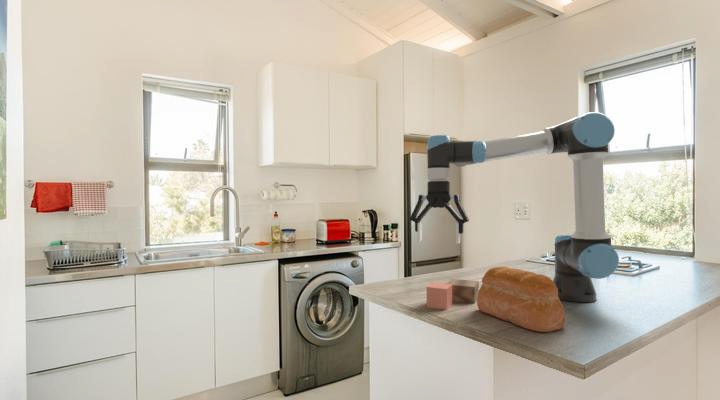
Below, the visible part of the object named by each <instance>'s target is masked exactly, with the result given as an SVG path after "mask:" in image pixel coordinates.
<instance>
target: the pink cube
mask: <svg viewBox="0 0 720 400" xmlns="http://www.w3.org/2000/svg"><path fill="white" fill-rule="evenodd" d="M452 306H453V301H452V285H450V284H447V283H439V282H432V283H429V284H428V285H427V286H426V308H431V309H439V310H446V311H447V310H448V309H449V308H450V307H452Z"/></svg>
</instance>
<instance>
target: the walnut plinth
mask: <svg viewBox="0 0 720 400" xmlns="http://www.w3.org/2000/svg"><path fill="white" fill-rule="evenodd" d="M446 284H450V285H452V302H459V303H467V304H476V303H477V297H478V292H479V290H480V287H479V281H478V280H472V279H456V278H451V279H450V280H449V281H448V282H447V283H446Z"/></svg>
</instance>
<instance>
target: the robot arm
mask: <svg viewBox="0 0 720 400" xmlns="http://www.w3.org/2000/svg"><path fill="white" fill-rule="evenodd" d="M615 130H616V129H615V125H614V123H613V121H612V120H611V119H610V117H608V116H607V115H606V114H603V113H601V112H598V111H594V112H587V113H586V112H585V113H582V114H579V115H578V116H576V117H574V118H572V119H568V120H567V121H564V122H562V123H559V124H557V125H554V126H551V127H546V128H543V129H542V131H538V132H533V133H527V134H520V135H516V136H515V135H514V136H511V137H504V138H500V139H499V138H497V139H494V140H488V141H487V140H486V141H482V140H481V141H480V140H469V141H467V140H465V141H464V140H462V141H451V139H450V136H449V135H446V134H445V135H443V134H436V135H431V136H429V137H428V139H427V150H426V151H427V152H426V155H427V158H426V159H427V180H428V182H427V195H424V194H419V195H418V196H417V197H418V198H417V199H418V201H417V203H416V204H415V207H414V209H413V211H412V213H411V214H410V217H409V221H412V222H414V231H415V232H417V242H419V243H420V242H422V241H423V222H422V220H423V218H424V217H425V216H426V215H427V213H428V212H429V211H430V210H431V209H432V208H434V209H435V208H437V209H438V208H440V209H442V208H443V209H444V208H445V210H447V211H448V212H449V214H450V215H451V216H452V218H453V219H455V221H456V224H455V244H456V245H457V244H461V235H462V234H463V233H464V224H465V223H468V222H469V221H470V219H469V216H468V215H467V213H466V210H465V209H464V207H463V205H462V203H461V201H460V195H459V194H454V195H451V193H450V192H451V191H450V188H451V187H450V183H451V182H450V181H449V180H450V167H451V166H450V164H453V165H454V166H456V167H465V166H469V165H476V164H483V163H488V162H492V161H493V162H494V161H497V160H499V161H500V160H504V159H511V158H516V157H517V158H518V157H523V156H529V155H533V154H541V153H545V154H547V155H551V154H558V153H567V158H569V159H571V160H572V163H573V164H572V165H573V167H572V169H573V189H574V190H573V191H574V195H573V196H574V197H573V198H574V217H575V218H574V219H575V220H574V221H575V223H574V225H575V231H574V232H573V233H572V234H560V235H556V236H555V239H554V276H553V279H552V281H553V282H554V283H555V285H556V286H557V288H558V297H559V300H560V301H567V302H575V303H591V302H592V303H593V302H596V301H597V292H596V289H595V286H594V284H593V280H592V279H598V280H599V279H600V280H601V279H605V278H608V277H610V276H611V275H612V274H613V273H615V271H616V270H617V268H618V267H619V261H620V259H619V258H620V257H619V254H618V252H617V250H615V249H614V248H613V246H612V237H611V235H610V234H609V233H607V231H606V217H605V216H606V214H605V211H606V210H605V181H604V180H605V179H604V158H605V157H606V156H607V155H608V154H609V143H611V141H612V139H613V138H614V136H615ZM451 200H452V201H453V202H454V204H455V207H456V208H457V210H458V212H459V214H460V215H459V214H458V212H457V211H456V210H455V209H454V208H453V207H452V205H451V204H450V201H451ZM425 201H427V202H428V203H427V204H426V205H425V207H424V208H423V209H422V211H421V212H420V210H421V208H422V206H423V204H424V202H425ZM419 212H420V213H419Z"/></svg>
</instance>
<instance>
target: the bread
mask: <svg viewBox="0 0 720 400" xmlns="http://www.w3.org/2000/svg"><path fill="white" fill-rule="evenodd" d="M561 301H562V300H560V299H559V297H558V288H557V286H556V285H555V283H554V282H553V279H552V278H551V277H548V276H547V275H544V274H540V273H538V274H537V273H535V272H532V271H530V270H523V269H518V268H510V267H508V266H495V267H492V268H490V269H488V270H487V271H486V272H485V273H484V275H483V277H482V278H481V286H480V287H479V292H478V297H477V300H476V306H477V308H478V310H479V311H480V312H482V313H484V314H487V315H490V316H493V317H496V318H497V319H500V320H503V321H506V322H511V323H512V324H514V325H515V326H518V327H521V328H524V329H527V330H529V331H533V332H538V333H550V332H554V331H558V330H561V329H563V327H564V325H565V322H566V317H565V310H564V306H563V303H562V302H561Z"/></svg>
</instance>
